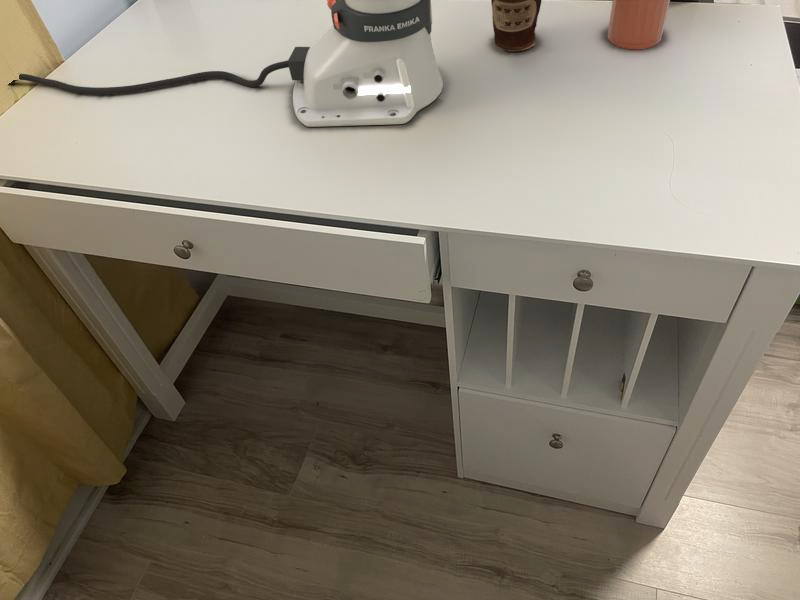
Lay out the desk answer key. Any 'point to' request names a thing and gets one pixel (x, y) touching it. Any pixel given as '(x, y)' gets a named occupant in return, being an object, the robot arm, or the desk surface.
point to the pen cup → (637, 23)
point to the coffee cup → (515, 23)
